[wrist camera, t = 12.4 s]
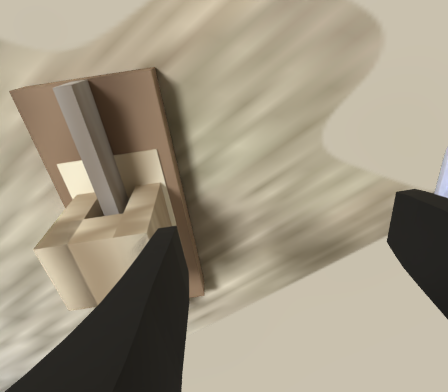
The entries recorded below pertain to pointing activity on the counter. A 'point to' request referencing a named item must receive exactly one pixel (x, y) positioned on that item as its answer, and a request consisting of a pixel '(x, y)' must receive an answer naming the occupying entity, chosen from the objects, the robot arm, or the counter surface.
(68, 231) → the clip
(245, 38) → the counter surface
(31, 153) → the counter surface
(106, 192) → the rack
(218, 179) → the counter surface
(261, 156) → the counter surface
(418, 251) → the robot arm
